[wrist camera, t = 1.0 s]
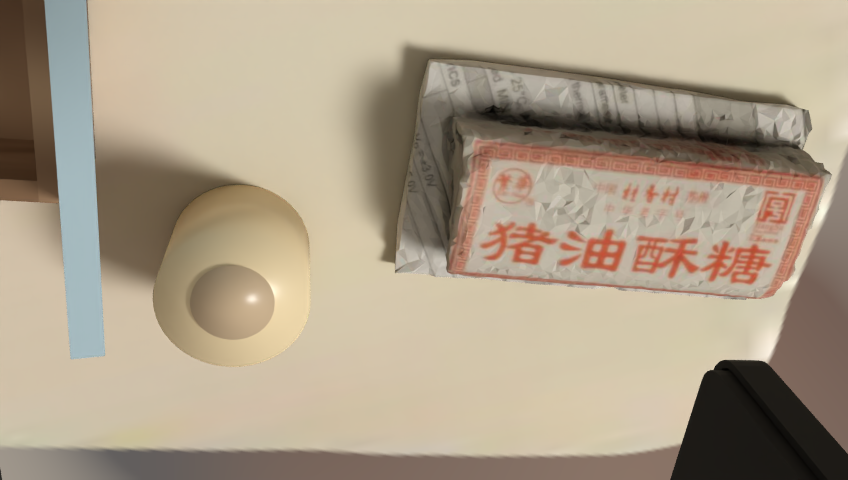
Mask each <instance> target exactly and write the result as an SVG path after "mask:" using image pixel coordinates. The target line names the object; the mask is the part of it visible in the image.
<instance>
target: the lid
mask: <svg viewBox="0 0 848 480" xmlns="http://www.w3.org/2000/svg"><path fill="white" fill-rule="evenodd" d="M44 2H45V16H46V29H47V43H48V56H49V70H50V84H51V97H52V111H53V125H54V138H55V152H56V165H57V179H58V193H59V206H60V220H61V233H62V247H63V261H64V274H65V288H66V302H67V315H68V329H69V342H70V356H71V359H79V358H89V357H99V356H105V345H104V326H103V307H102V288H101V269H100V250H99V231H98V212H97V193H96V174H95V155H94V137H93V118H92V99H91V80H90V61H89V42H88V23H87V4H86V0H44Z"/></svg>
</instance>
